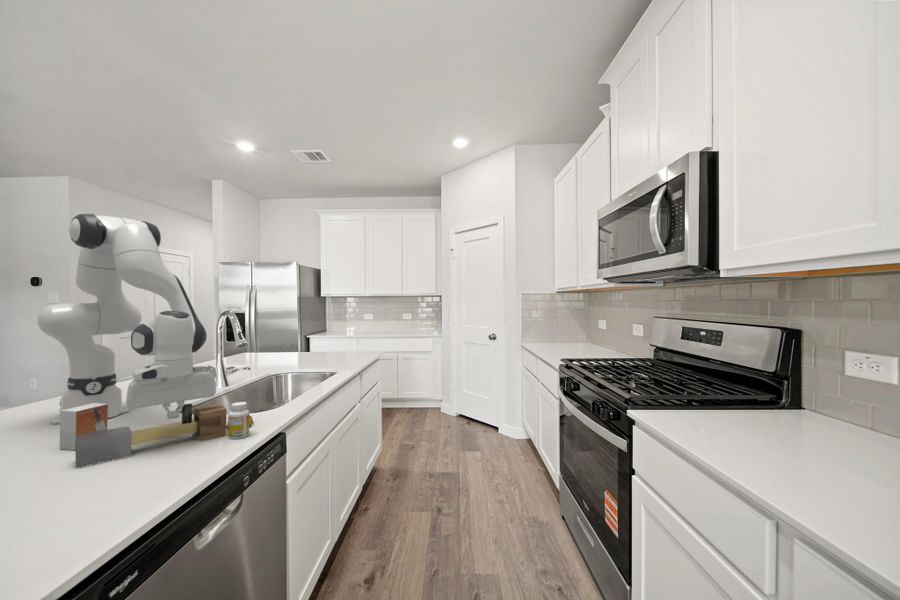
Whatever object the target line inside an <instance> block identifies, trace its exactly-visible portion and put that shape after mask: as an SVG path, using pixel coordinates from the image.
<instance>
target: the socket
mask: <svg viewBox="0 0 900 600" xmlns="http://www.w3.org/2000/svg"><path fill="white" fill-rule="evenodd" d="M198 418H199V432H194V433H193V436H195V438H197V440H198V441H199V442H204V441H209V440H214V439H218V438H222V437H226V436H227V428H226V425H227V408H226V407H224V405H221V403H214V404H213V403H212V404H208V405H202V406H197V407H193V419H198Z"/></svg>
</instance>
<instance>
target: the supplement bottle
mask: <svg viewBox="0 0 900 600" xmlns="http://www.w3.org/2000/svg"><path fill="white" fill-rule="evenodd" d="M230 406H231V407H230V409H231V410H230V412H229V413H228V414H227V415H228V417H227V418H228V421H227V424H228V429H227V430H228V433H227V436H228V439H230V440H238V439H243V438H245V437H248V436H249V435H250V427H249V415H250V411H249V410H248V409H247V407H248V403H247V401H239V402H234V403H231V405H230Z"/></svg>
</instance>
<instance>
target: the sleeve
mask: <svg viewBox="0 0 900 600" xmlns="http://www.w3.org/2000/svg"><path fill="white" fill-rule="evenodd" d="M132 431H133V430H131V428H130V427H129V425H127V426H122V427H120V426H119V427H115V428H110V429H107V430H104V431H98V432H92V433H87V434H81V435H76V450H75V457H74V458H75V460H76V461H75V468H76V469H78V468H77V467H80V468H83V467H82V466H84V467H87V466H86V465H89V466H91V465H90V464H93V465H96V464H95V463H98V462H102V463H104V462H103V461H106V462H108V461H107V460H111V461H113V460H112V459H115V460H118V459H117V458H120V459H122V458H121V457H124V458H126V457H125V456H129V457H131V456H132V446H131V437H132ZM130 455H131V456H130ZM98 464H99V463H98Z"/></svg>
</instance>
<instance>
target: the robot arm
mask: <svg viewBox="0 0 900 600" xmlns="http://www.w3.org/2000/svg"><path fill="white" fill-rule="evenodd" d="M68 232H69V235H70V239H71V241H72V242H73V244H75V245H76V246H79V247H81V248H80V251H79V256H78V262H77V266H76V267H77V268H76V276H75V283H76V284H75V285H76V286H77V288H78V289H79V290H81V291H82V292H84V293H86V294H89V295H91V296H94V297H96V302H67V303H66V302H65V303H58V304H51V305H47V306H46V307H44V308H43V309H42V310H40V311H41V312H39V314H38V317H37V325H38V327H39V329H40V330H41V332H43V333H44V334H45V335H47V336H49V337H51V338H53V339H55V340H57V341H58V342H59V343H60V344H61V345H62V346H63V347H64V349H65V351H66V352H67V356H68V362H69V364H68V365H69V377H68V378H67V382H66V385H67V389H68V390H67V391H66V392H65V393H64V394H63V395H62V396H61V398H60V399H59V407H60V408H59V412H60V411H61V410H65V409H70V408H74V407H79V406H83V405H87V404H90V403H101V404H108V419H110V418H113V417H116V416H119V415H121V414H125V413H128V412H129V409H133V410H134V409H140V408H146V407H153V406H159V405H160V406H161V405H162V408H163V409H164V411H166V415H167V419H168V420H171V419H177V418H180V412H181V411H182V407H183V406H184V404H185V401H192V400H198V399H205V398H211V397H214V396H215V394H216V393H217V386H216V381H215V380H216V378H217V368H215V366H211V365H210V364H209V365H199V366H194V354H193V353H196V352H198V351H199V350H200V349H201V348H202V347H203V346H204V344H205V343H206V341H207V336H208V335H207V331H206V329H205V327H204V325H203V324H202V322H201V320H200V319H199V317H198V315H197V314H196V312H195V310H194V307H193V305H192V303H191V301H190V299H189V296H188V294H187V292H186V290H185V288H184V286H183V284H182V282H181V281H180V278H179V277H178V276H177V275H175V274H173V273H172V271H170V270H169V269H168V267H167V266H166V265H165V264H164V261H163V260H162V257H161V252H160V249H159V246H160V245H161V241H162V240H161V239H162V237H161V232H160V229H159V228H158V226H157V225H155V224H152V223H151V222H148V221H144V220H143V221H142V220H141V221H140V220H137V219H131V218H127V217H122V216H111V215H97V214H96V215H95V214H93V213H80V214H76V216H74V217H72V219H71V222H70V224H69V229H68ZM122 282H125V283H127V284H129V285H131V286H133V287H134V288H137V289H141V290H144V291H148V292H151V293H153V294H156V295H158V296H160V297H162V298H163V299H165V301H167V303H168V305H169V307H170V310H165V311H161V312H159V313H157V315H156V317H155V318H154V319H152V320H150V321H148V322H145V323H141V322H142V314H141V311H140V310H139V308H138V307H136V306H135V305H134V304H132V303H131V302H130V301H129V300H128V299H126V297H125V294H124V293H123V289H122V286H123V285H122ZM129 332H131V336H130V345H131V348H132V350H134V351H135V352H136V353H137V354H138V355H141V356H154V363H152V364H148V365H145V366H142V367H139V368H136V369H135V370H133V371H132V372H133V373H132V377H133V379H132V380H131V381H130V383H129V385H128V388H127V392H126V398H125V399H126V401H125V402H126V403H125V404H126V407H125V406H123V394H122V393H123V392H122V389H121V388H120V387H118V386H117V385H116V384H117V380H118V379H117V378H118V377H117V374H116V373H115V367H116V366H115V365H116V364H115V361H116V360H115V358H116V355H115V352H114V350H112V349H111V348H110V347H107V346H104V345H102V344H99V343H95V342H94V341H95V340H94V338H93V336H100V335H101V336H102V335H119V334H120V335H121V334H123V333H129ZM171 403H176V404H177V407H176V408H175V410H170V407H171ZM51 424H53V425H54V424H60V413H58V414H57V415H56V416H55V417H54V418H53V419H52V420H51Z"/></svg>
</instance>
